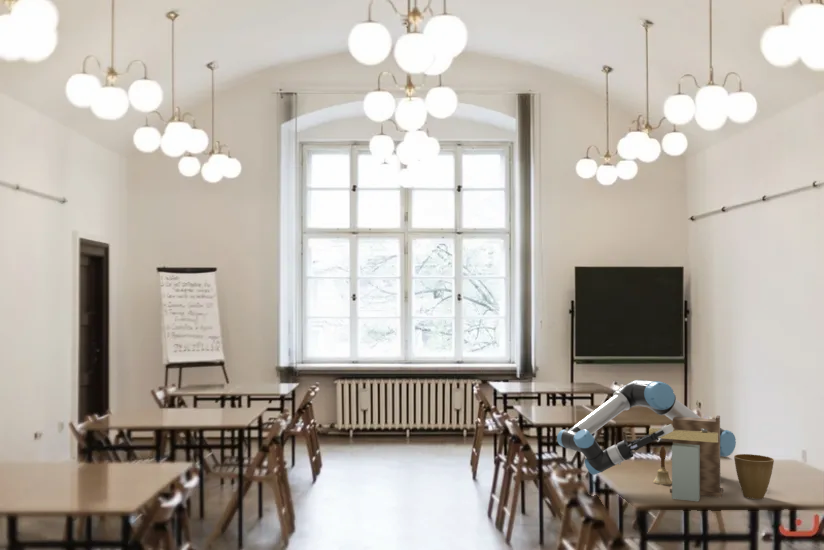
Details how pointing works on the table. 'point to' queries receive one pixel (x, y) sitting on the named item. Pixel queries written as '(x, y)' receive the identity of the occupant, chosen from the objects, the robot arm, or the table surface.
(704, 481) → the walnut stand
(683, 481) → the grey block
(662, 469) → the hand bell
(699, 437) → the brass bar
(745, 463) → the plant pot
